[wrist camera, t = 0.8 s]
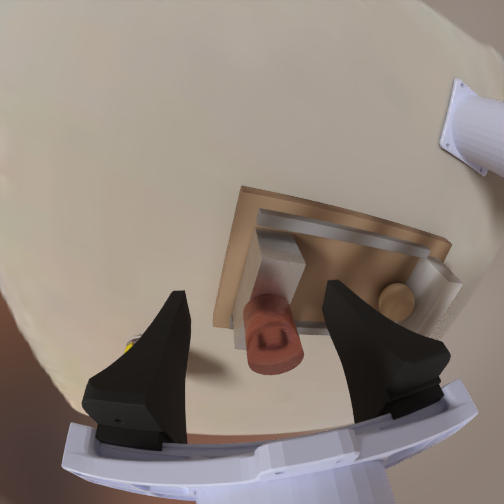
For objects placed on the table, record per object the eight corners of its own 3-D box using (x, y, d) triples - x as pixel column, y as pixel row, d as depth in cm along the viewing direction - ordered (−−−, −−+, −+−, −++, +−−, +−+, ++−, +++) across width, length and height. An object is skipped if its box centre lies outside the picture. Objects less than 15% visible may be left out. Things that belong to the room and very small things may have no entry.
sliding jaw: (294, 234, 22) (330, 309, 14) (265, 316, 26) (280, 394, 18) (251, 226, 21) (268, 304, 13) (229, 312, 25) (234, 393, 18)
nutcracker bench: (444, 238, 26) (478, 269, 20) (393, 327, 33) (413, 362, 27) (241, 185, 21) (248, 219, 15) (213, 316, 28) (212, 366, 22)
